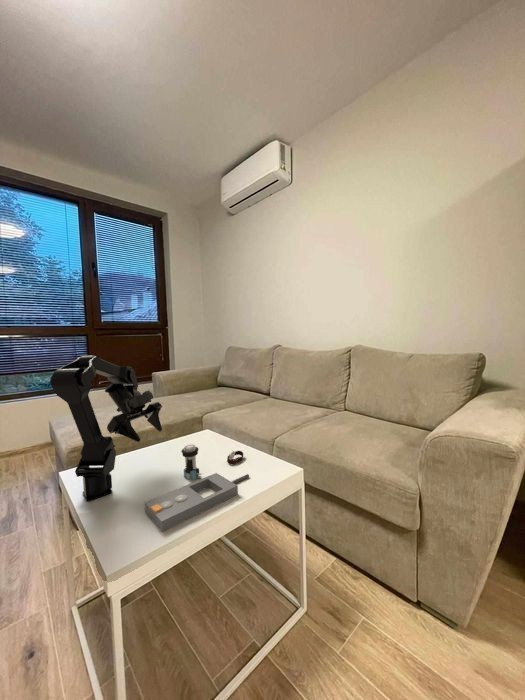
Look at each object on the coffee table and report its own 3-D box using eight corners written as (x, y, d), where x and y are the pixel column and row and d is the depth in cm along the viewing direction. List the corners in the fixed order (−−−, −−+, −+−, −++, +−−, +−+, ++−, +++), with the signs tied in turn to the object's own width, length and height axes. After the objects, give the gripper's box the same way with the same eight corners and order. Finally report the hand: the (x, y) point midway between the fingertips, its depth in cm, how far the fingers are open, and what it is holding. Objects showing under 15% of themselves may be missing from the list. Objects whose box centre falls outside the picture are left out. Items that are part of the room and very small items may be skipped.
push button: (206, 475, 92) (205, 445, 92) (196, 483, 87) (194, 451, 87) (190, 471, 95) (188, 442, 95) (179, 479, 90) (177, 448, 90)
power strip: (162, 531, 66) (161, 519, 65) (145, 511, 74) (144, 500, 74) (260, 483, 86) (259, 473, 86) (238, 471, 94) (238, 462, 94)
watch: (236, 455, 107) (236, 446, 107) (246, 458, 105) (246, 448, 105) (223, 464, 101) (223, 453, 100) (234, 466, 98) (234, 456, 98)
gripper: (109, 391, 86) (138, 431, 82) (156, 379, 103) (182, 412, 99) (95, 414, 90) (122, 453, 86) (142, 399, 107) (166, 431, 103)
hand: (150, 435), depth 93 cm, fingers open, 9 cm apart
